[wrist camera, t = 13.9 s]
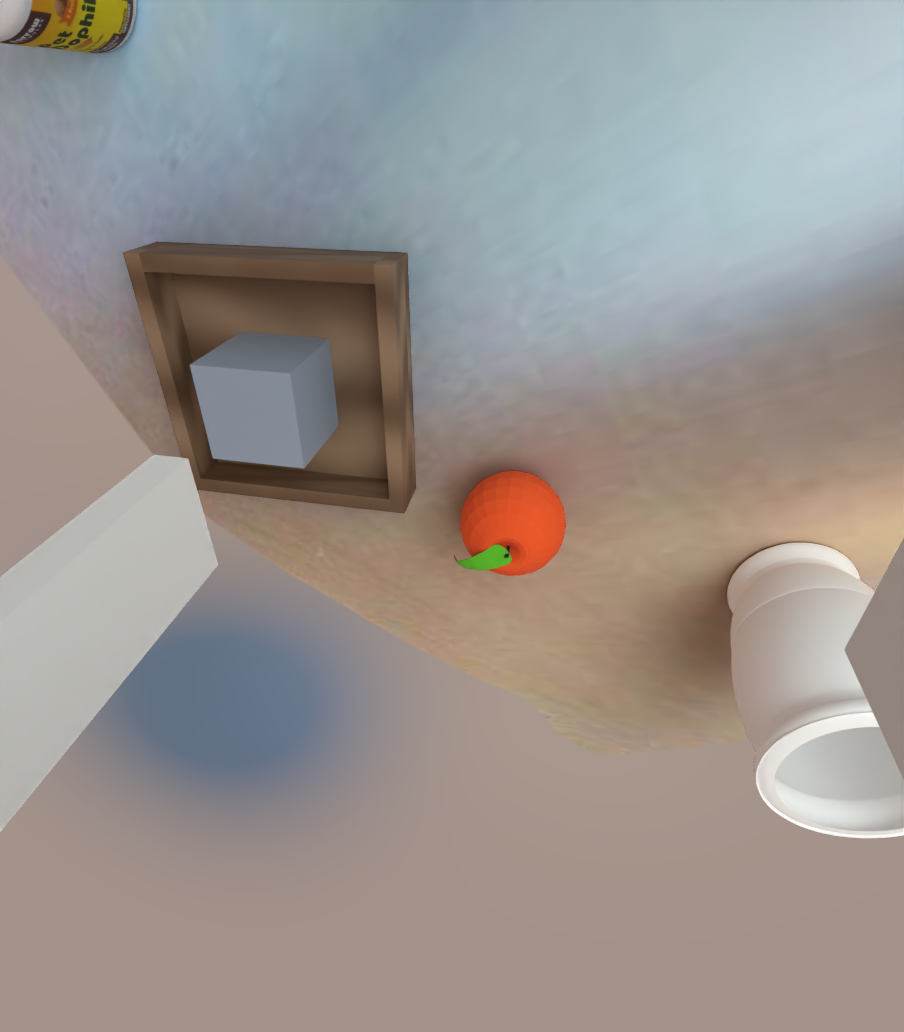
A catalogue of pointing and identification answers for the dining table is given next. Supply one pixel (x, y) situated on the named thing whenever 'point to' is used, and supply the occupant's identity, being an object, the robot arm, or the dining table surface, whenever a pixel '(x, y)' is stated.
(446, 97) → the dining table surface
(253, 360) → the grey cube
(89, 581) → the robot arm
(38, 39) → the supplement bottle
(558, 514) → the clementine
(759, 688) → the jar
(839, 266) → the dining table surface
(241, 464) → the walnut tray
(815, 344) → the dining table surface
